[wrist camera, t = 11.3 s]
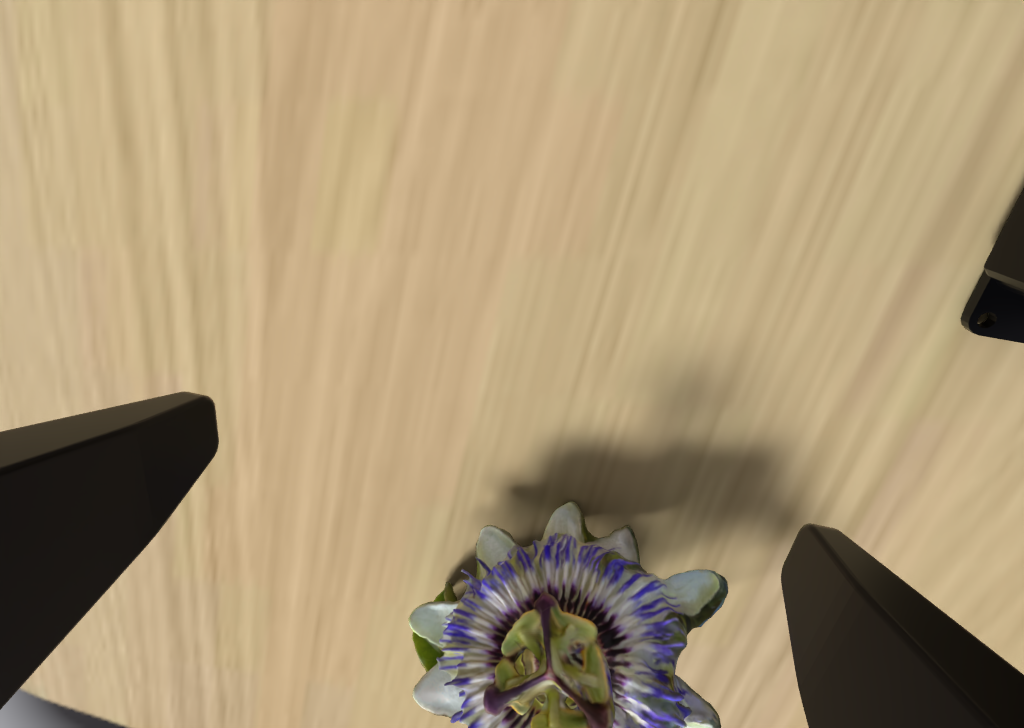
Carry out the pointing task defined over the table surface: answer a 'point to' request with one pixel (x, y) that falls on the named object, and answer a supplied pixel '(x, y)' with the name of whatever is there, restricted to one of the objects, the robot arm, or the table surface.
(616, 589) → the passion flower
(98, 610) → the table surface
